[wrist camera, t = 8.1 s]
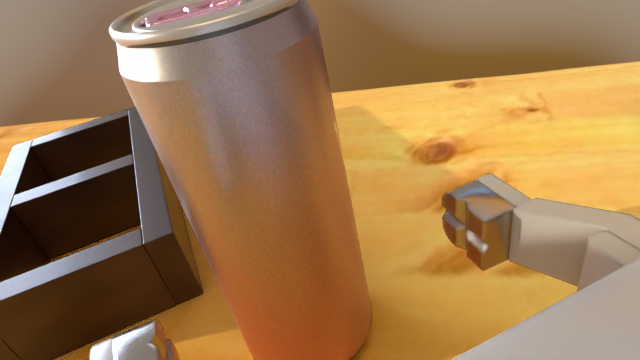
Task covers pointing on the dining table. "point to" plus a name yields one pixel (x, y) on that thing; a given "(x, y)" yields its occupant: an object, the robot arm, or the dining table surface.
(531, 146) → the dining table surface
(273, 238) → the beverage can
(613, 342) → the robot arm
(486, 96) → the dining table surface
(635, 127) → the dining table surface
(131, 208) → the holder
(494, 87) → the dining table surface
